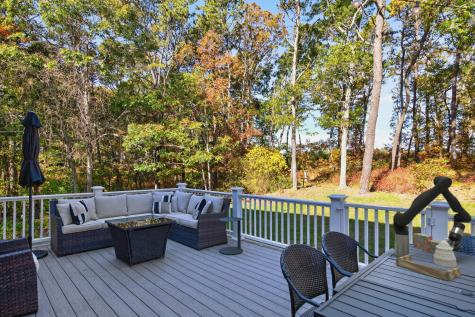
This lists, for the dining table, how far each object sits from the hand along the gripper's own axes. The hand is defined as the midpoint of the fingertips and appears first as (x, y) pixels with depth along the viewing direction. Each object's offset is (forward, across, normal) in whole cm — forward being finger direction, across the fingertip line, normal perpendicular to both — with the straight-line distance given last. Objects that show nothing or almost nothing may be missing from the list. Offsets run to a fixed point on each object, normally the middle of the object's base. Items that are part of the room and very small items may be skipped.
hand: (448, 254), depth 196 cm
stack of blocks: (-9, -22, +18) cm, 30 cm away
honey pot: (+9, 0, 0) cm, 9 cm away
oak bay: (+26, 0, -18) cm, 31 cm away
